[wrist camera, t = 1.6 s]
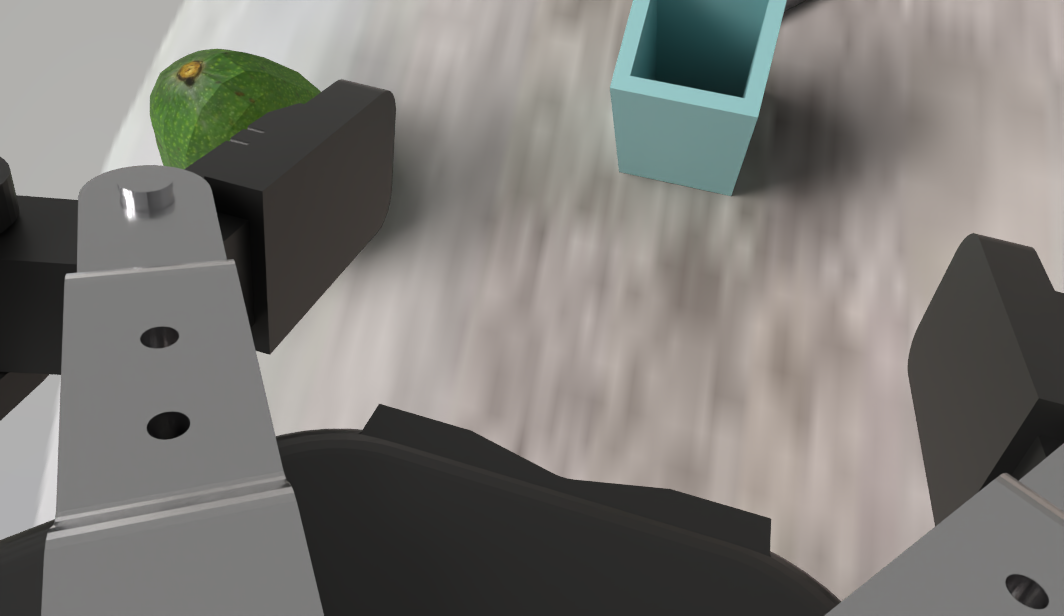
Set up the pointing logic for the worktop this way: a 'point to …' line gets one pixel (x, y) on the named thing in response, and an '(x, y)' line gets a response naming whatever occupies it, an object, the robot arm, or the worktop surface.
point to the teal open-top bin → (692, 88)
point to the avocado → (217, 100)
